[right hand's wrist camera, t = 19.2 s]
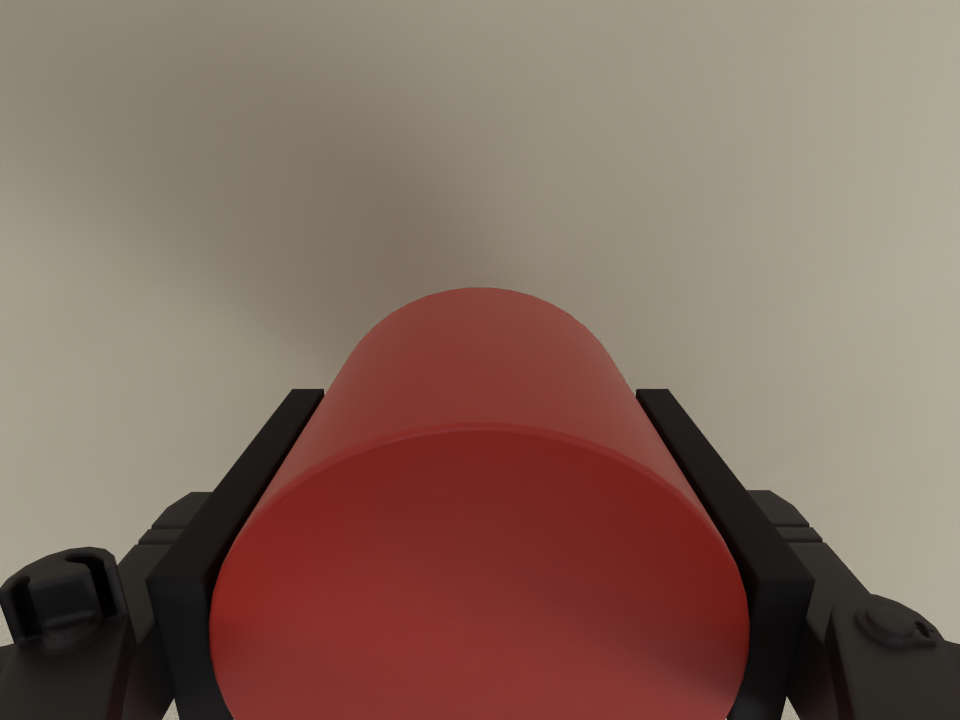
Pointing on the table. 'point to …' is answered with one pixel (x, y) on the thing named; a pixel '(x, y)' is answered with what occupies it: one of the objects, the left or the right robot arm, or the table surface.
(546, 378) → the canister
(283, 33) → the table surface
